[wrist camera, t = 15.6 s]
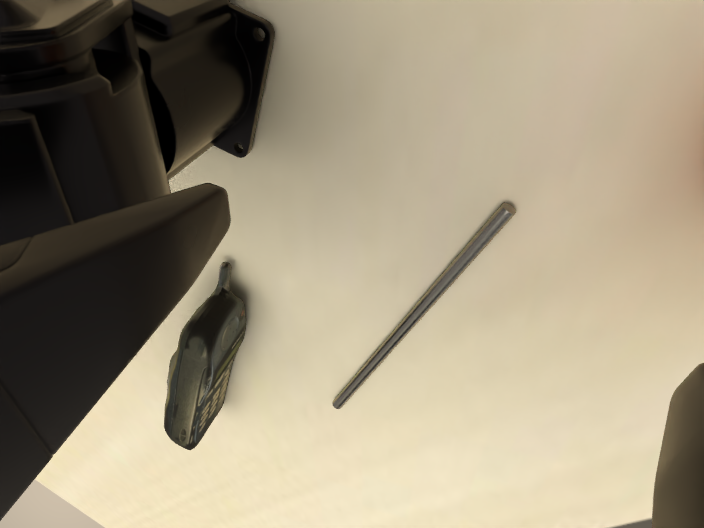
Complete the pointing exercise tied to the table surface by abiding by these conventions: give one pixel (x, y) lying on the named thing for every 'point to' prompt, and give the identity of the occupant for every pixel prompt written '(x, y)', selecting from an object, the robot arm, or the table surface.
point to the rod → (429, 298)
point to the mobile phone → (203, 364)
